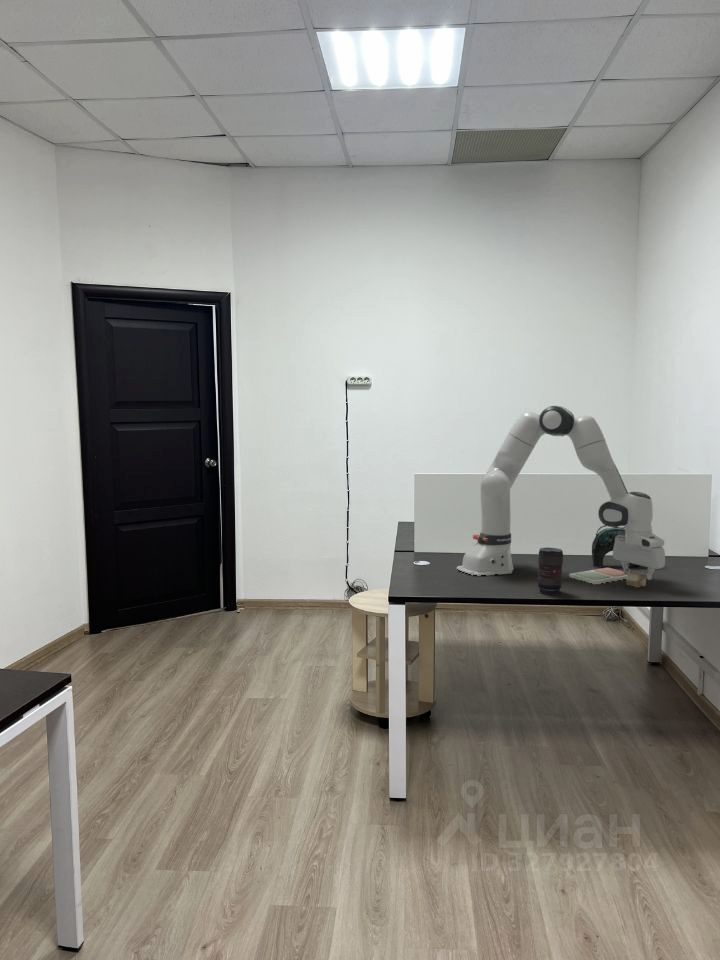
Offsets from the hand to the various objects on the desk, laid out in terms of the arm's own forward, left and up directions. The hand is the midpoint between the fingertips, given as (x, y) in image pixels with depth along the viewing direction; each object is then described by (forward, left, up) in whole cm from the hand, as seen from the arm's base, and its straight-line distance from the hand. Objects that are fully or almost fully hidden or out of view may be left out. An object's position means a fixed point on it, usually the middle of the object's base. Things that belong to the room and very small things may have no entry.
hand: (637, 576), depth 258 cm
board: (-2, +14, -3) cm, 15 cm away
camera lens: (-33, +8, -3) cm, 35 cm away
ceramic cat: (+17, +24, -4) cm, 30 cm away
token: (0, 0, -3) cm, 3 cm away
